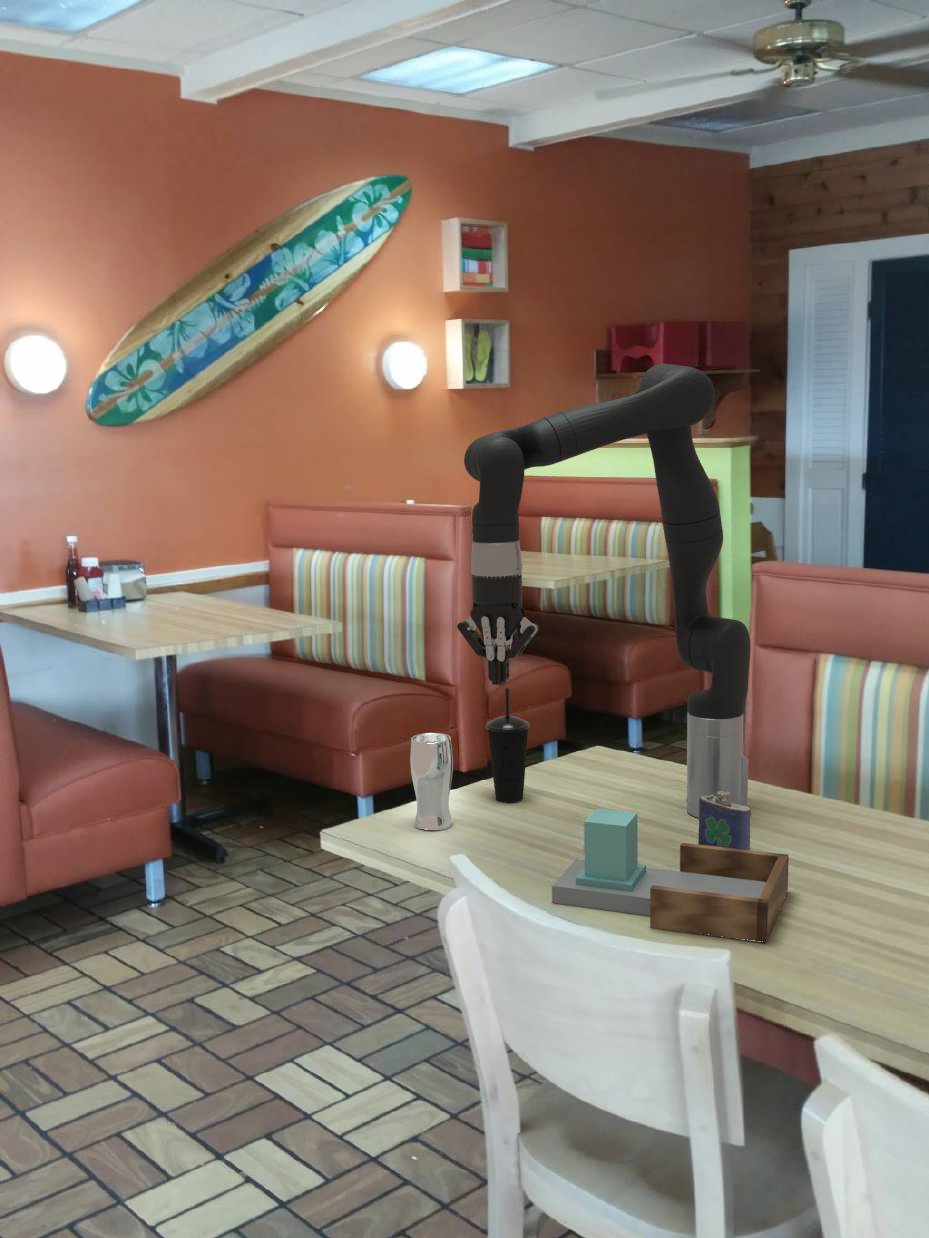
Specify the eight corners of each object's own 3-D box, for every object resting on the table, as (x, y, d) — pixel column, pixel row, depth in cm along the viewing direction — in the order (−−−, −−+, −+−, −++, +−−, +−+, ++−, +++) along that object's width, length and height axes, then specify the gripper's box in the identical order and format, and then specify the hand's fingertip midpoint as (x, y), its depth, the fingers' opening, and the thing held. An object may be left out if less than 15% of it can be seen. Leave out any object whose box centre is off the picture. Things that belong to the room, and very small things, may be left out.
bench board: (552, 902, 180) (552, 885, 180) (576, 874, 190) (575, 858, 190) (753, 929, 170) (753, 912, 169) (767, 899, 180) (767, 882, 179)
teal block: (575, 884, 180) (575, 823, 179) (592, 864, 188) (592, 805, 186) (631, 891, 177) (631, 829, 176) (646, 871, 184) (646, 811, 183)
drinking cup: (485, 793, 230) (482, 684, 226) (527, 791, 231) (526, 682, 227) (489, 806, 223) (487, 694, 219) (533, 804, 223) (531, 692, 220)
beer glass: (449, 833, 210) (447, 744, 207) (408, 831, 211) (405, 742, 209) (458, 819, 216) (456, 732, 214) (418, 817, 218) (415, 731, 215)
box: (650, 927, 171) (650, 888, 170) (681, 878, 188) (682, 842, 187) (765, 943, 166) (766, 903, 165) (787, 891, 182) (788, 854, 181)
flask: (753, 864, 193) (754, 795, 191) (741, 869, 191) (742, 800, 189) (704, 849, 200) (705, 782, 198) (692, 853, 198) (692, 786, 196)
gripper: (445, 573, 192) (449, 686, 195) (529, 575, 186) (531, 692, 189) (465, 566, 198) (468, 676, 201) (546, 568, 193) (548, 681, 196)
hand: (499, 683), depth 195 cm, fingers closed
